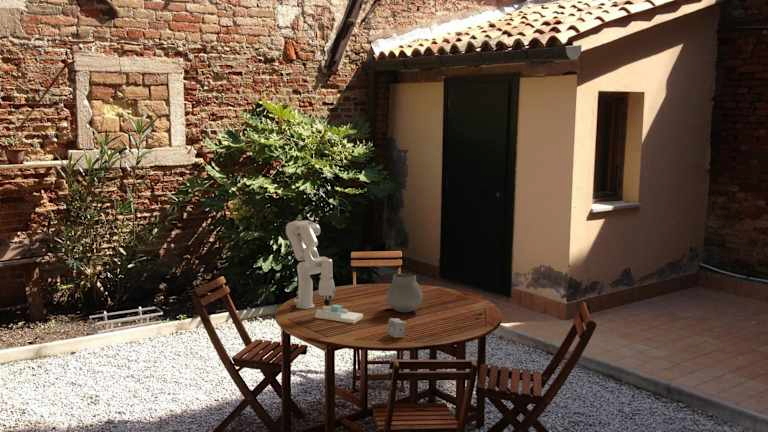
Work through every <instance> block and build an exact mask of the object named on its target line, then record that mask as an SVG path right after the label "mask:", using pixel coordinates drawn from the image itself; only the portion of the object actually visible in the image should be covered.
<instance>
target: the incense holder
mask: <svg viewBox="0 0 768 432" xmlns="http://www.w3.org/2000/svg"><path fill="white" fill-rule="evenodd" d="M407 325H408V324H407V322H406V321H403V320H402V319H400V318H392V317H389V319H388V323H387V330H386V334H387V335H389V336H390V338H395V339H397V338H400V339H405V338H406V335H405V328H406V327H407Z"/></svg>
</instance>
